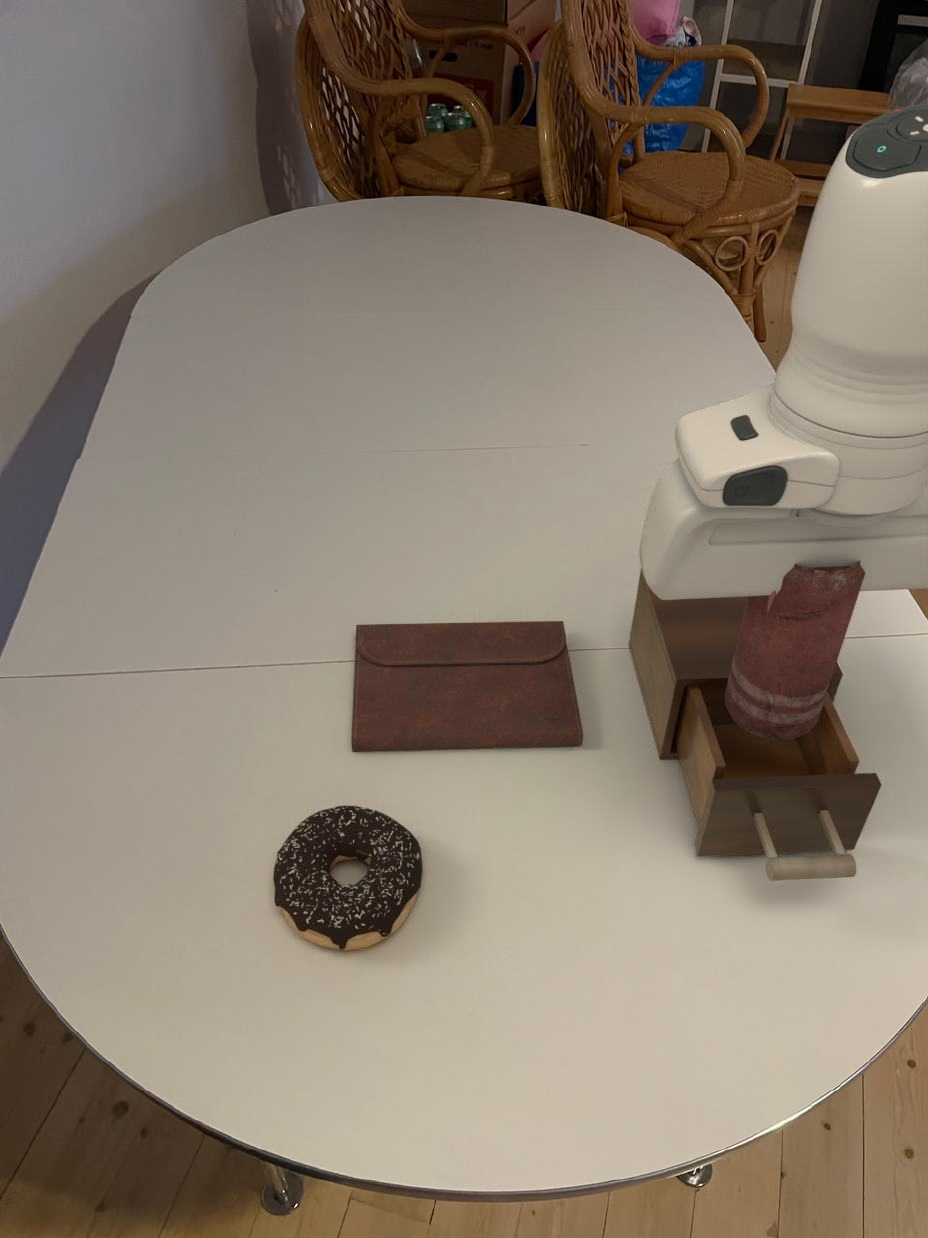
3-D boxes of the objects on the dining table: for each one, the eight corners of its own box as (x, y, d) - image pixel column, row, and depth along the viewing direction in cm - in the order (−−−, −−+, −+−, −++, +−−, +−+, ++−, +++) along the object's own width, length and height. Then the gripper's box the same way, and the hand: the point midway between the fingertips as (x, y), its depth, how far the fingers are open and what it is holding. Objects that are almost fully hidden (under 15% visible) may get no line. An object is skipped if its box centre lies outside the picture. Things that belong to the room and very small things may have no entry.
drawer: (880, 912, 77) (912, 847, 72) (715, 920, 76) (735, 855, 71) (800, 723, 91) (822, 658, 86) (661, 728, 91) (674, 663, 86)
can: (702, 712, 69) (739, 542, 60) (755, 665, 72) (798, 498, 63) (783, 762, 66) (835, 590, 57) (834, 710, 69) (891, 540, 60)
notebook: (581, 748, 90) (584, 732, 89) (352, 754, 89) (351, 738, 88) (561, 633, 101) (562, 617, 100) (357, 637, 100) (356, 621, 99)
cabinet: (815, 754, 90) (843, 673, 84) (659, 760, 89) (676, 679, 83) (766, 641, 101) (788, 562, 95) (628, 645, 100) (641, 566, 94)
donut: (427, 830, 83) (427, 797, 80) (416, 964, 74) (416, 932, 71) (289, 824, 83) (284, 791, 81) (261, 957, 74) (255, 925, 72)
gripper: (1008, 406, 58) (935, 595, 68) (648, 418, 57) (623, 610, 66) (1065, 467, 54) (978, 662, 63) (674, 482, 53) (643, 679, 62)
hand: (793, 635), depth 65 cm, fingers closed, pressing on can
